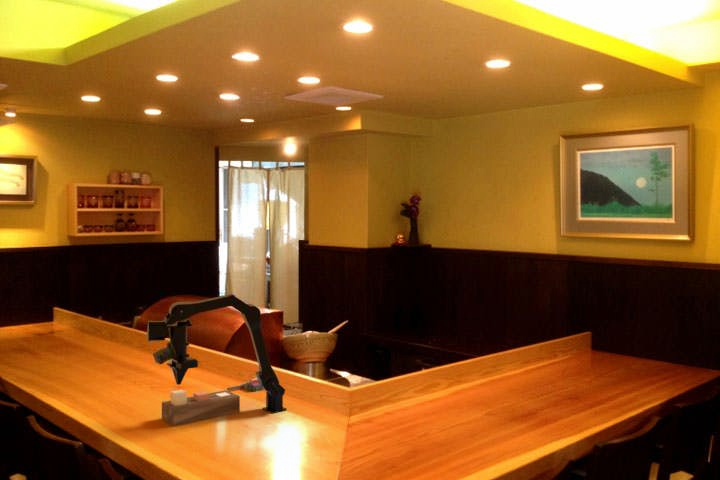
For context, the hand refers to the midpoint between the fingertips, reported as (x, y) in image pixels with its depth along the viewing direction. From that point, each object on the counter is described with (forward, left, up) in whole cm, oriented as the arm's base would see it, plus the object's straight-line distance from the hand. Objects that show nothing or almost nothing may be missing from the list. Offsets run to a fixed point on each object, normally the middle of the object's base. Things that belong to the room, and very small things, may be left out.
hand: (178, 384), depth 240 cm
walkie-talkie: (+20, -41, -13) cm, 48 cm away
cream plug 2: (0, -17, -12) cm, 21 cm away
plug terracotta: (0, -8, -10) cm, 13 cm away
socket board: (0, -8, -13) cm, 15 cm away
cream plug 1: (0, 0, -8) cm, 8 cm away
